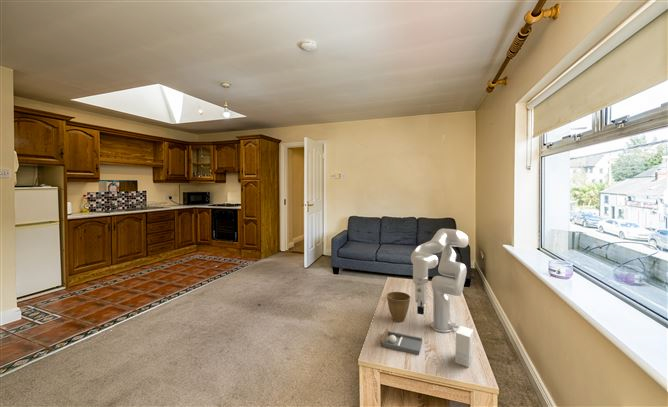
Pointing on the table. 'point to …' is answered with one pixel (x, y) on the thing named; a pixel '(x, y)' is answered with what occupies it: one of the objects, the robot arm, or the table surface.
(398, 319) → the plant pot
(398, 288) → the table surface
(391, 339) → the ball
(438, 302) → the robot arm
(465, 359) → the skincare box
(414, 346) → the tray
